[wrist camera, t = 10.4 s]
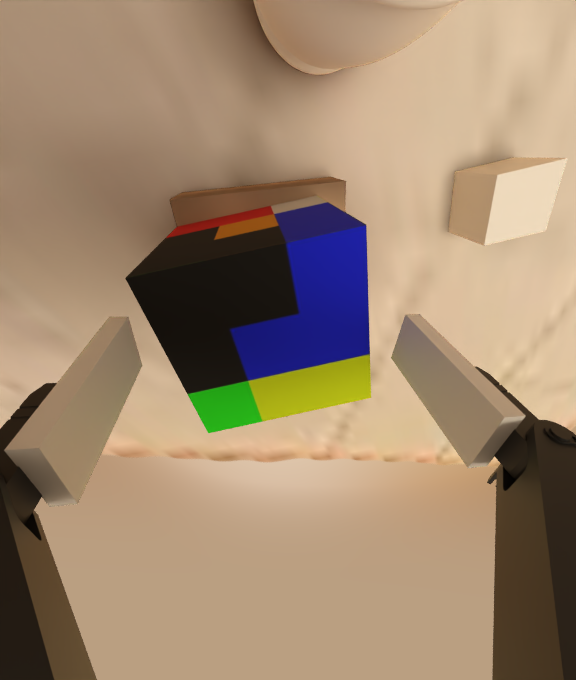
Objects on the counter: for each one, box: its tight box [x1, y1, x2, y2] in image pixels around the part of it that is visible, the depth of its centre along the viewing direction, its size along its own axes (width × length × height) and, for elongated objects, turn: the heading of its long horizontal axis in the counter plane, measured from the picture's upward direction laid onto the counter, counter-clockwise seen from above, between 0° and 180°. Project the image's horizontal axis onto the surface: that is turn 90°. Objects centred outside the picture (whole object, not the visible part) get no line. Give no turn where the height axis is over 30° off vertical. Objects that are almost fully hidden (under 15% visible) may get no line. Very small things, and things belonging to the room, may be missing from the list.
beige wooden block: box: [448, 158, 567, 246], centre depth 23 cm, size 5×5×5 cm
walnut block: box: [170, 177, 346, 227], centre depth 25 cm, size 12×12×5 cm
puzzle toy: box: [126, 196, 371, 433], centre depth 18 cm, size 10×10×10 cm
